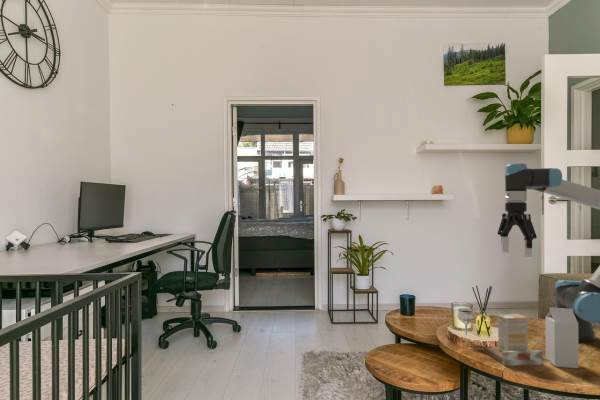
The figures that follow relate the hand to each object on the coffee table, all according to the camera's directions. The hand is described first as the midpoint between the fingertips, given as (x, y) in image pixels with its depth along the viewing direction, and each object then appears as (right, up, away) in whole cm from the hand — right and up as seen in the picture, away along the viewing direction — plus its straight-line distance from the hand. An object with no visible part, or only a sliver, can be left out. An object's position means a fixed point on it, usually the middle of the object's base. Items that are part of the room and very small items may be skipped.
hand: (515, 254), depth 151 cm
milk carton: (+3, -35, -22) cm, 41 cm away
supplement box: (-12, -33, -18) cm, 39 cm away
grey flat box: (-12, -34, -17) cm, 40 cm away
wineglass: (-20, -35, 0) cm, 40 cm away
